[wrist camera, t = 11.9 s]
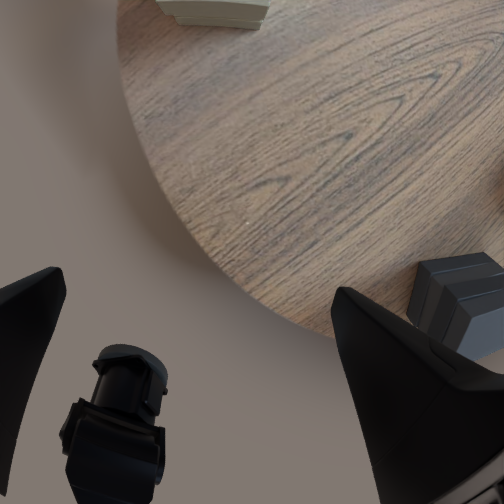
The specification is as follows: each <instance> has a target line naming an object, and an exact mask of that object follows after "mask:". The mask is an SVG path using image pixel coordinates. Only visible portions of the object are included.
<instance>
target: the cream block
mask: <svg viewBox="0 0 504 504" xmlns="http://www.w3.org/2000/svg"><path fill="white" fill-rule="evenodd" d="M270 1H271V0H155V2H156V3H157V5H158V6H159V7H160V8H161V10H162V11H163V12H164V14H165V15H203V16H223V17H235V18H245V19H254V20H262V21H263V20H264V19H265V16H266V14H267V12H268V9H269V7H270Z"/></svg>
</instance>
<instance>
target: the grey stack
mask: <svg viewBox="0 0 504 504" xmlns="http://www.w3.org/2000/svg"><path fill="white" fill-rule="evenodd" d="M406 315H407V317H408V318H409V319H410V321H411V322H412V324H413V325H414V326H415V327H418V329H419V330H421V331H423V332H424V333H426V334H427V335H428V337H429V336H431V337H432V338H434V339H435V340H437V341H439V342H440V343H442V344H444V345H445V346H447V347H448V348H450V349H452V350H454V351H455V352H457V353H459V354H461V355H462V356H464V357H466V358H468V359H470V360H472V361H475V360H478V359H480V358H482V357H484V356H487V355H489V354H491V353H493V352H495V351H497V350H499V349H502V348H504V268H502V267H501V266H500V265H499V264H498V263H497V262H495V261H494V260H493V259H492V258H491V257H489V256H488V255H487V254H486V253H484V252H482V253H475V254H469V255H462V256H456V257H449V258H442V259H435V260H428V261H421V262H420V263H419V267H418V272H417V276H416V280H415V284H414V288H413V292H412V296H411V300H410V303H409V307H408V311H407V314H406Z"/></svg>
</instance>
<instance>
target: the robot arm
mask: <svg viewBox="0 0 504 504" xmlns="http://www.w3.org/2000/svg"><path fill="white" fill-rule="evenodd" d="M65 297H66V285H65V281H64V276H63V272H62V270H61V268H59V267H48V268H46V269H43V270H41V271H39V272H37V273H34V274H32V275H30V276H27V277H25V278H23V279H21V280H18V281H16V282H14V283H12V284H10V285H7V286H5V287H3V288H1V289H0V494H1V495H3V496H6V493H7V487H8V480H9V474H10V468H11V464H12V459H13V454H14V450H15V446H16V439H17V437H18V433H19V429H20V425H21V422H22V418H23V415H24V411H25V408H26V405H27V402H28V399H29V396H30V393H31V390H32V387H33V384H34V381H35V378H36V375H37V373H38V370H39V367H40V365H41V362H42V359H43V357H44V354H45V352H46V349H47V347H48V345H49V342H50V340H51V337H52V335H53V332H54V330H55V327H56V324H57V320H58V317H59V314H60V311H61V309H62V306H63V303H64V300H65ZM331 318H332V322H333V327H334V332H335V337H336V342H337V347H338V352H339V355H340V359H341V362H342V365H343V368H344V371H345V374H346V378H347V381H348V384H349V388H350V391H351V394H352V397H353V401H354V404H355V408H356V411H357V415H358V418H359V421H360V425H361V429H362V432H363V436H364V439H365V443H366V447H367V450H368V454H369V458H370V462H371V466H372V470H373V474H374V478H375V482H376V486H377V490H378V494H379V499H380V503H381V504H504V374H498V373H495V372H492V371H490V370H488V369H486V368H484V367H483V366H481V365H479V364H477V363H475V362H473V361H472V360H470V359H468V358H466V357H464V356H462V355H461V354H459V353H457V352H455V351H454V350H452V349H450V348H448V347H447V346H445V345H444V344H442V343H440V342H439V341H437V340H435V339H434V338H432V337H431V336H429V337H428V335H427V334H426V333H424V332H423V331H421V330H419V329H418V328H416V327H415V326H413V325H411V324H410V323H408V322H407V321H405V320H403V319H402V318H400V317H399V316H397V315H395V314H394V313H392V312H390V311H389V310H387V309H386V308H384V307H382V306H381V305H379V304H377V303H376V302H374V301H373V300H371V299H369V298H368V297H366V296H364V295H363V294H361V293H359V292H358V291H356V290H354V289H353V288H351V287H339V288H338V289H337V290H336V293H335V297H334V300H333V303H332V306H331ZM92 366H93V367H94V368H95V369H96V371H97V372H98V373H99V374H100V375H99V378H98V381H97V384H96V387H95V390H94V393H93V396H92V399H91V402H88V401H85V399H83V398H79V401H78V402H77V403H73V404H72V406H71V409H70V412H69V415H68V417H67V419H66V421H65V423H64V424H63V426H62V428H61V430H60V433H59V437H60V439H61V440H62V446H63V451H62V453H63V454H64V455H67V456H68V459H67V464H66V469H65V471H66V475H67V478H68V481H69V483H70V486H71V489H72V491H73V494H74V496H75V499H76V501H77V503H78V504H149V503H150V502H151V501H152V499H153V493H154V487H155V485H158V484H160V482H161V479H162V476H163V472H164V467H165V428H164V427H157V426H154V423H155V417H156V416H159V414H160V408H161V401H162V395H167V392H168V390H167V388H166V387H165V386H164V384H163V383H162V382H161V380H160V379H159V378H158V376H157V375H156V374H155V372H154V371H153V370H152V368H151V367H150V366H149V364H148V363H147V362H146V360H145V359H144V357H143V356H141V355H139V354H136V355H130V356H123V357H116V358H109V359H101V360H94V361H93V364H92Z"/></svg>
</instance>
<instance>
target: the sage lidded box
mask: <svg viewBox="0 0 504 504" xmlns="http://www.w3.org/2000/svg"><path fill="white" fill-rule="evenodd" d="M174 18H175V20H176V21H177V23H178V24H179V25H200V26H221V27H234V28H244V29H253V30H259V29H260V27H261V24H262V20H254V19H245V18H235V17H223V16H203V15H174Z"/></svg>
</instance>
